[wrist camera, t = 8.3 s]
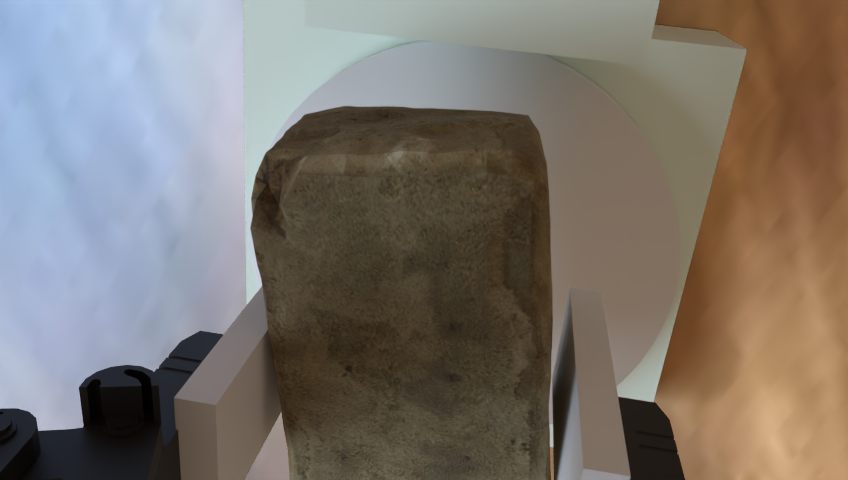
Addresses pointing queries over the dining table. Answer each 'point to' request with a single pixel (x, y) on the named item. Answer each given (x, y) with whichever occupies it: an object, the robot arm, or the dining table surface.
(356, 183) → the stone block
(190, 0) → the dining table surface
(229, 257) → the dining table surface
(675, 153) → the scale
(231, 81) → the dining table surface
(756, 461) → the dining table surface
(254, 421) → the robot arm
